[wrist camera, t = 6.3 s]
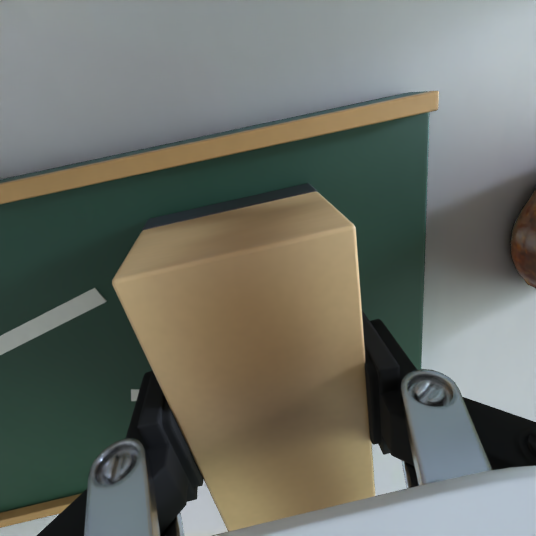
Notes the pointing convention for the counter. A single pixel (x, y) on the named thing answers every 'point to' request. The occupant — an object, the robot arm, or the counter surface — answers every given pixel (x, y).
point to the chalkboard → (123, 238)
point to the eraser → (258, 348)
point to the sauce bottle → (525, 242)
